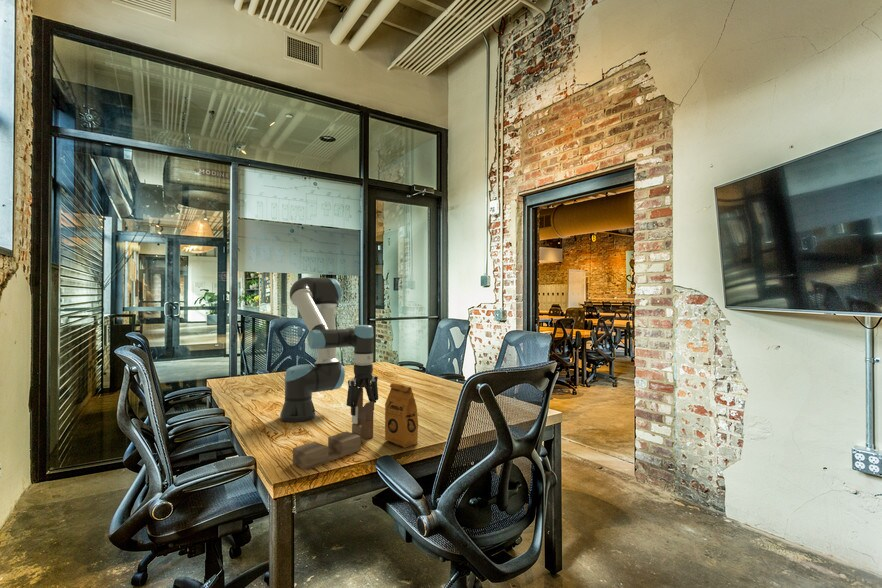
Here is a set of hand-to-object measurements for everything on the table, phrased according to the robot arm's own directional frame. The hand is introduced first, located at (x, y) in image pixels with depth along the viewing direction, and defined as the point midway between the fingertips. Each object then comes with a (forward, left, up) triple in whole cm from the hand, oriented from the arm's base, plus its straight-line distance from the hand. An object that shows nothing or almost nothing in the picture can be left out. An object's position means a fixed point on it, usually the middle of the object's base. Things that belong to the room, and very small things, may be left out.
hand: (362, 420), depth 161 cm
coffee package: (+18, +4, -6) cm, 19 cm away
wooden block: (0, 0, -6) cm, 6 cm away
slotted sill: (+8, -22, -6) cm, 24 cm away
